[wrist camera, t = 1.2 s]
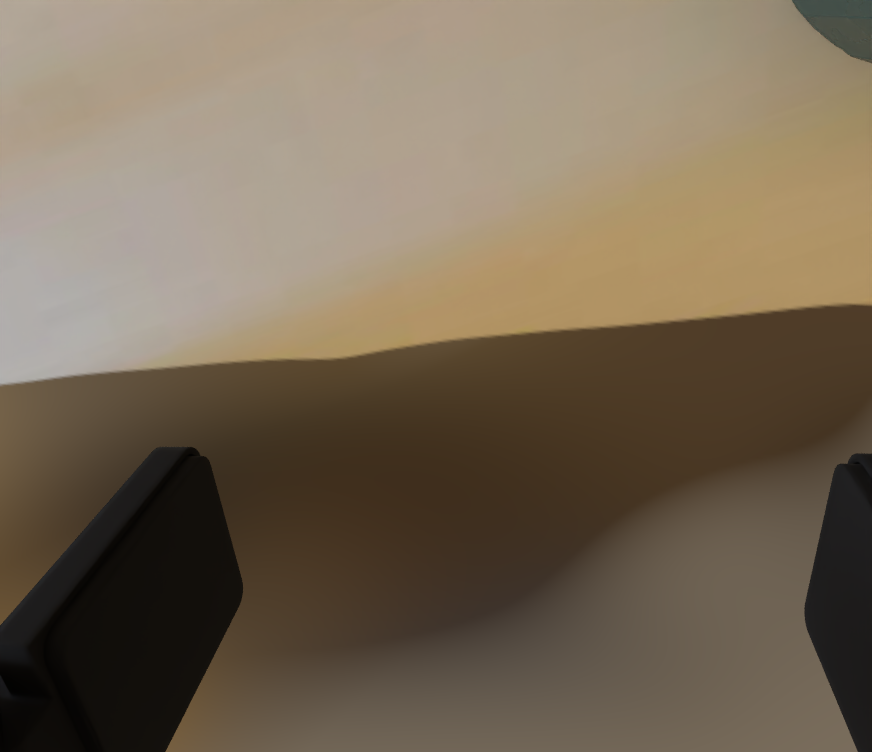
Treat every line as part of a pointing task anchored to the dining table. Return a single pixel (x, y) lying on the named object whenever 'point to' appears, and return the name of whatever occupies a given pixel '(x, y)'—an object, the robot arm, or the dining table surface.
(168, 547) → the robot arm
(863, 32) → the tin
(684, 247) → the dining table surface
